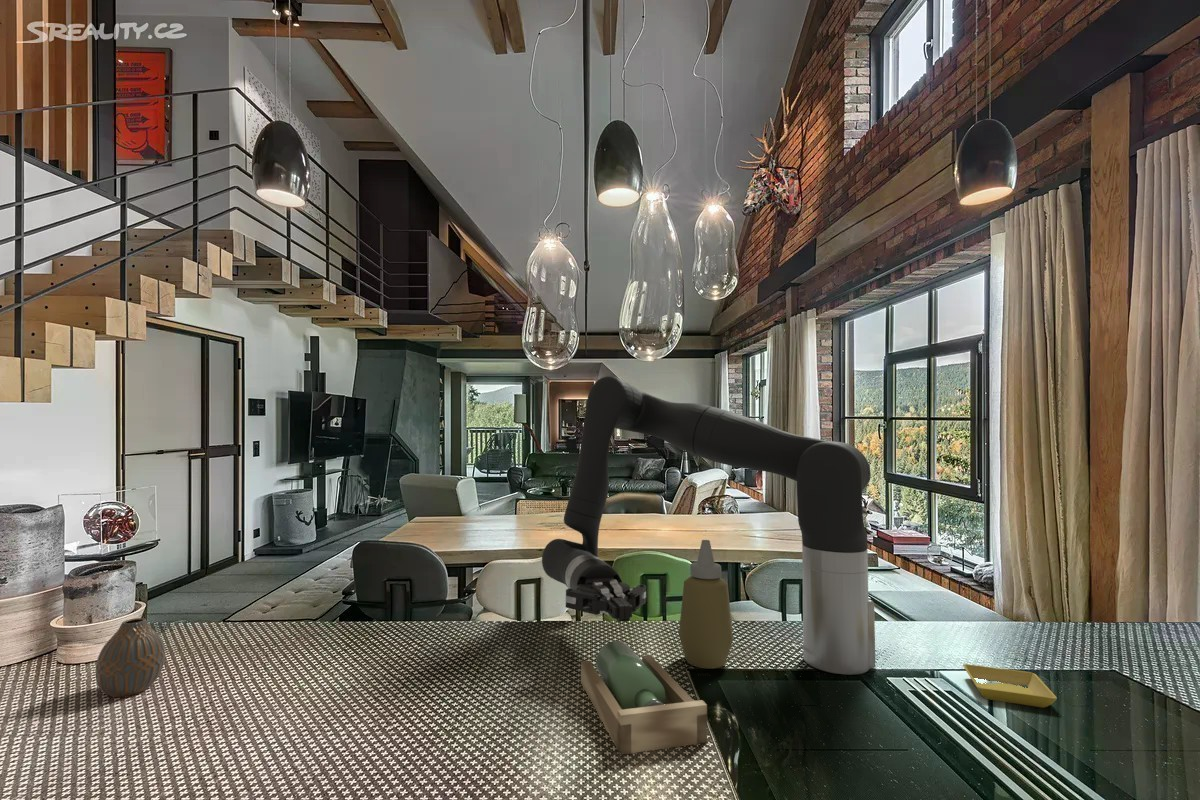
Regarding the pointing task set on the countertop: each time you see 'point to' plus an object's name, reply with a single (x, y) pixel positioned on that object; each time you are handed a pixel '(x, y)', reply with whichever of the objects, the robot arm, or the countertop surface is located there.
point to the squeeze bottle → (705, 613)
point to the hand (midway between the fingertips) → (624, 613)
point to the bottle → (628, 677)
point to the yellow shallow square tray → (1011, 686)
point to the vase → (130, 659)
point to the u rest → (648, 714)
